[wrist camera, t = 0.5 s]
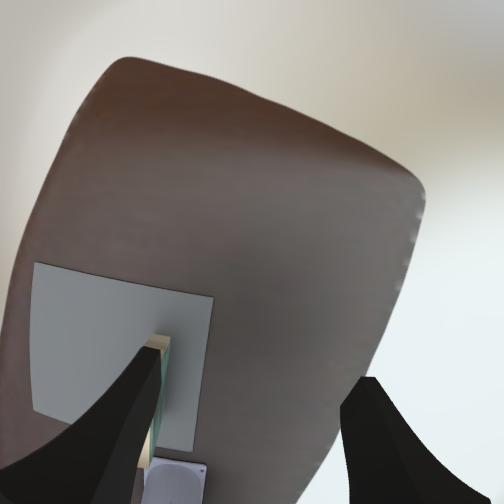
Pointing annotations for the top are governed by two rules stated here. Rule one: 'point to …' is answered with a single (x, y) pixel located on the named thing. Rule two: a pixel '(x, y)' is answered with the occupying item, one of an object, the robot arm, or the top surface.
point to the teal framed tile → (151, 439)
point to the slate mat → (113, 344)
